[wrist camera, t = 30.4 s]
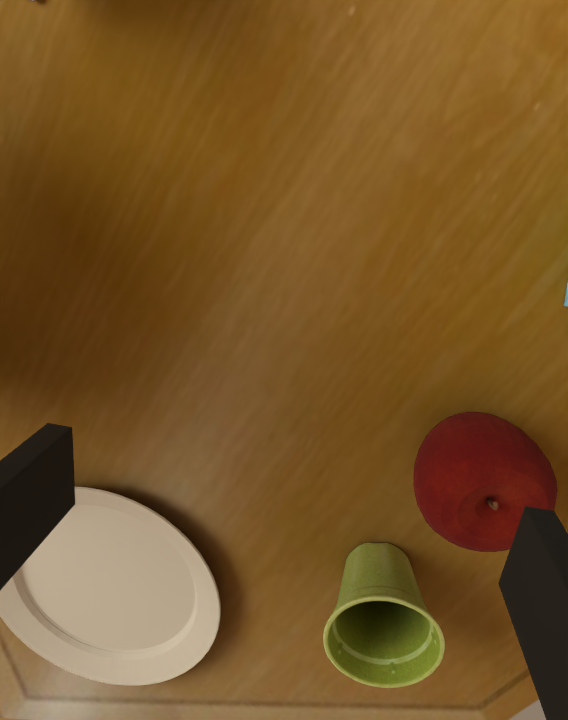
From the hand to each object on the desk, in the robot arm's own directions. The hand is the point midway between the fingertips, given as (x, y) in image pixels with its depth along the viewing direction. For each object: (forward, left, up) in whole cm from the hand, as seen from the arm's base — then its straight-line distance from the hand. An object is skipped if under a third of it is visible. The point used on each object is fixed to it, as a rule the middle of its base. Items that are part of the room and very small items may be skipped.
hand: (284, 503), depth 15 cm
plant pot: (+17, -20, -27) cm, 38 cm away
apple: (+16, -5, -27) cm, 32 cm away
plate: (-5, -38, -27) cm, 47 cm away
